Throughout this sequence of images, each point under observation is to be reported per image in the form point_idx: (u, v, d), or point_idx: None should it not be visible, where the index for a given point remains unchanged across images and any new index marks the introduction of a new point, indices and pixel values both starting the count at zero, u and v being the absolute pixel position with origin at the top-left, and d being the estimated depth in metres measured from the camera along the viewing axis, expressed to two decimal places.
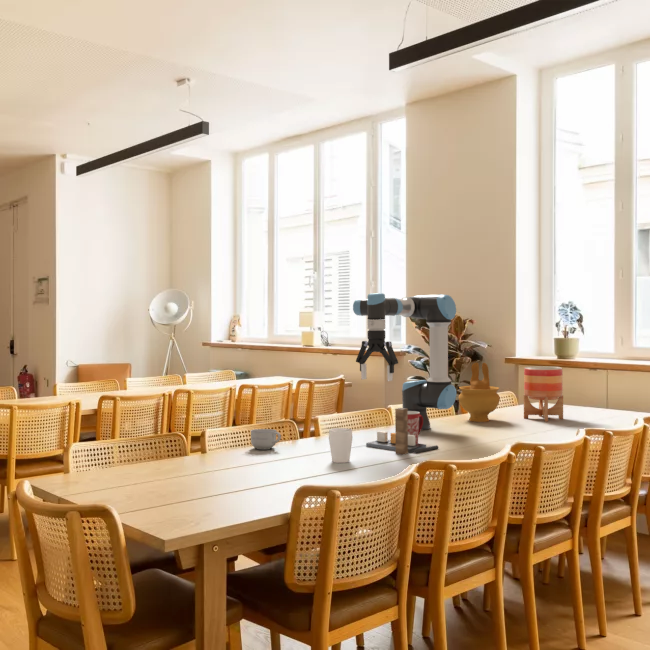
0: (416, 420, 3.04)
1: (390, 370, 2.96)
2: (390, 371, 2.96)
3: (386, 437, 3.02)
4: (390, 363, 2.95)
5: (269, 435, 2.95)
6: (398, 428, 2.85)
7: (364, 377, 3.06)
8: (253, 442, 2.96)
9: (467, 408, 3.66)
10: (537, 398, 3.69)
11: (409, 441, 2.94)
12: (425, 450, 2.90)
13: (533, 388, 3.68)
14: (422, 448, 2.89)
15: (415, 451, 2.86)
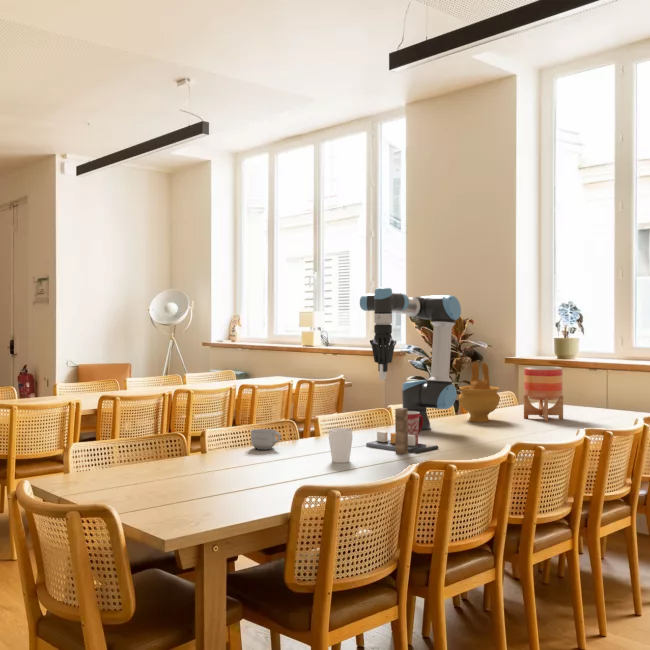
0: (416, 420, 3.04)
1: (384, 369, 3.04)
2: (383, 370, 3.04)
3: (386, 437, 3.02)
4: (384, 363, 3.02)
5: (269, 435, 2.95)
6: (398, 428, 2.85)
7: None
8: (253, 442, 2.96)
9: (467, 408, 3.66)
10: (537, 398, 3.69)
11: (409, 441, 2.94)
12: (425, 450, 2.90)
13: (533, 388, 3.68)
14: (422, 448, 2.89)
15: (415, 451, 2.86)
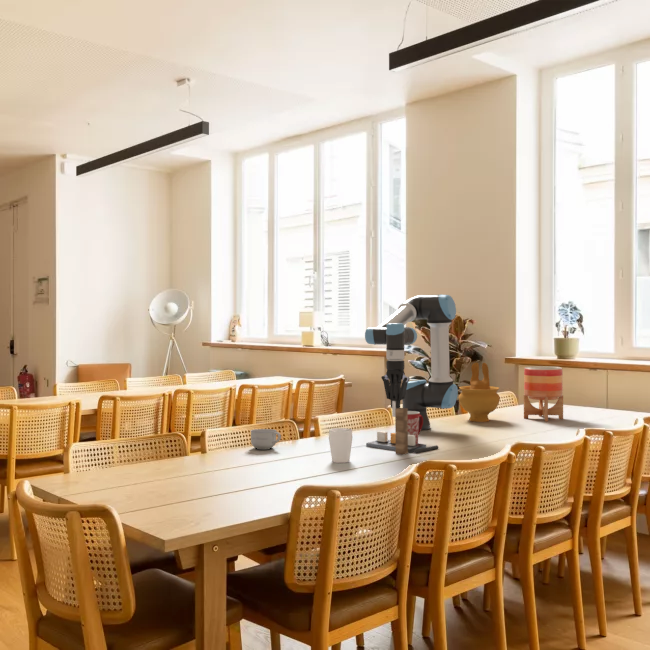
0: (416, 420, 3.04)
1: (396, 406, 2.98)
2: (396, 407, 2.98)
3: (386, 437, 3.02)
4: (397, 400, 2.96)
5: (269, 435, 2.95)
6: (398, 428, 2.85)
7: None
8: (253, 442, 2.96)
9: (467, 408, 3.66)
10: (537, 398, 3.69)
11: (409, 441, 2.94)
12: (425, 450, 2.90)
13: (533, 388, 3.68)
14: (422, 448, 2.89)
15: (415, 451, 2.86)
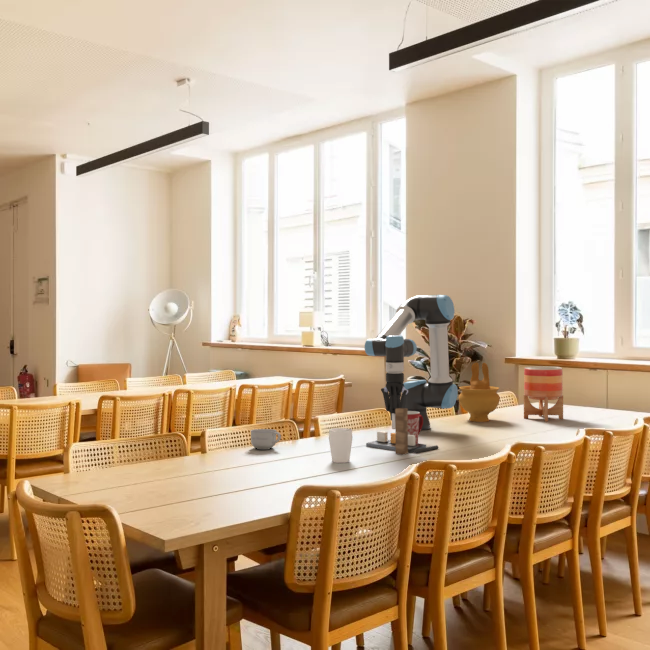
0: (416, 420, 3.04)
1: None
2: None
3: (386, 437, 3.02)
4: None
5: (269, 435, 2.95)
6: (398, 428, 2.85)
7: None
8: (253, 442, 2.96)
9: (467, 408, 3.66)
10: (537, 398, 3.69)
11: (409, 441, 2.94)
12: (425, 450, 2.90)
13: (533, 388, 3.68)
14: (422, 448, 2.89)
15: (415, 451, 2.86)
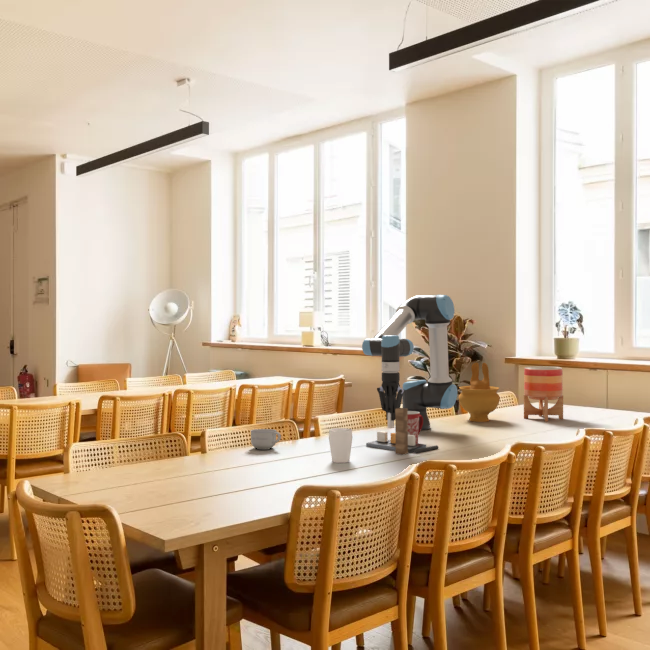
0: (416, 420, 3.04)
1: (392, 417, 2.99)
2: (392, 418, 2.99)
3: (386, 437, 3.02)
4: (392, 412, 2.98)
5: (269, 435, 2.95)
6: (398, 428, 2.85)
7: None
8: (253, 442, 2.96)
9: (467, 408, 3.66)
10: (537, 398, 3.69)
11: (409, 441, 2.94)
12: (425, 450, 2.90)
13: (533, 388, 3.68)
14: (422, 448, 2.89)
15: (415, 451, 2.86)
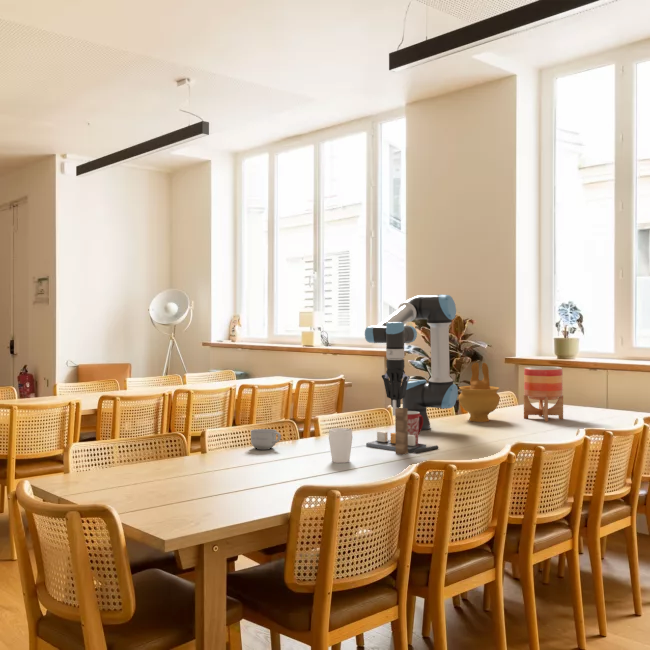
0: (416, 420, 3.04)
1: (397, 404, 2.98)
2: (397, 405, 2.98)
3: (386, 437, 3.02)
4: (397, 399, 2.97)
5: (269, 435, 2.95)
6: (398, 428, 2.85)
7: None
8: (253, 442, 2.96)
9: (467, 408, 3.66)
10: (537, 398, 3.69)
11: (409, 441, 2.94)
12: (425, 450, 2.90)
13: (533, 388, 3.68)
14: (422, 448, 2.89)
15: (415, 451, 2.86)
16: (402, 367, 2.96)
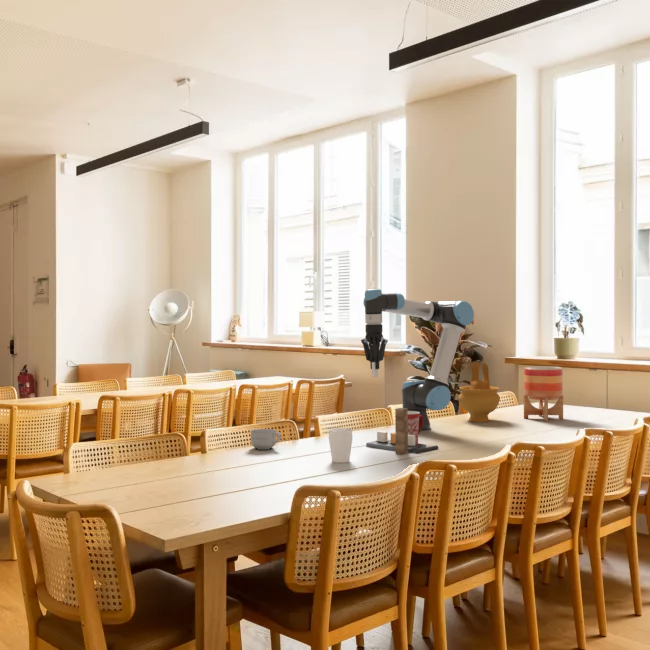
0: (416, 420, 3.04)
1: (376, 366, 3.18)
2: (376, 367, 3.18)
3: (386, 437, 3.02)
4: (376, 361, 3.17)
5: (269, 435, 2.95)
6: (398, 428, 2.85)
7: None
8: (253, 442, 2.96)
9: (467, 408, 3.66)
10: (537, 398, 3.69)
11: (409, 441, 2.94)
12: (425, 450, 2.90)
13: (533, 388, 3.68)
14: (422, 448, 2.89)
15: (415, 451, 2.86)
16: (380, 331, 3.17)
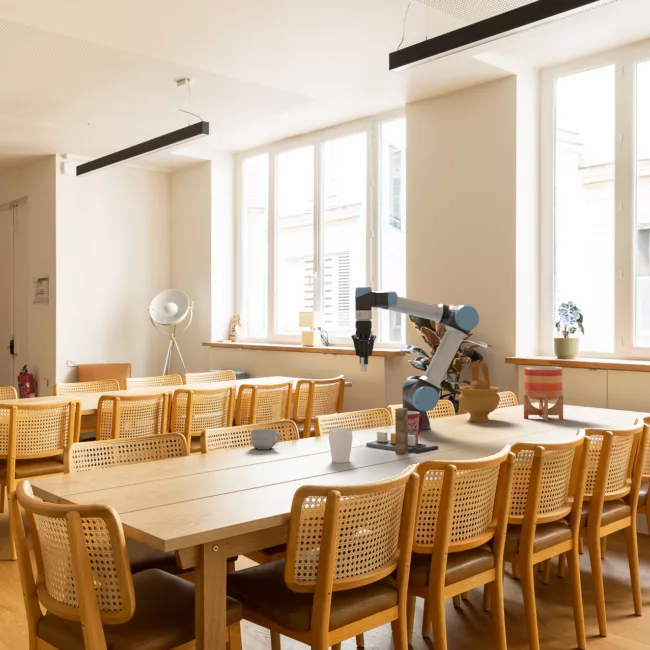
0: (416, 420, 3.04)
1: (364, 361, 3.29)
2: (364, 362, 3.29)
3: (386, 437, 3.02)
4: (364, 356, 3.27)
5: (269, 435, 2.95)
6: (398, 428, 2.85)
7: None
8: (253, 442, 2.96)
9: (467, 408, 3.66)
10: (537, 398, 3.69)
11: (409, 441, 2.94)
12: (425, 450, 2.90)
13: (533, 388, 3.68)
14: (422, 448, 2.89)
15: (415, 451, 2.86)
16: (369, 327, 3.27)
